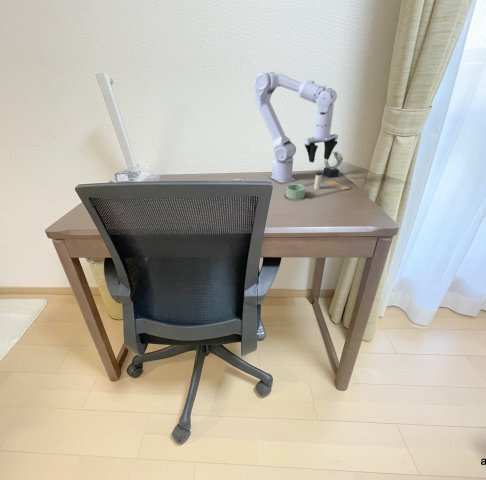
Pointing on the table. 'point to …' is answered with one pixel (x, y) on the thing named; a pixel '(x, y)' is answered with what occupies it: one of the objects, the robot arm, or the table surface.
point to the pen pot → (295, 191)
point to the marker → (318, 180)
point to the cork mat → (337, 184)
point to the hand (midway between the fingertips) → (318, 160)
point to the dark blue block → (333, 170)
